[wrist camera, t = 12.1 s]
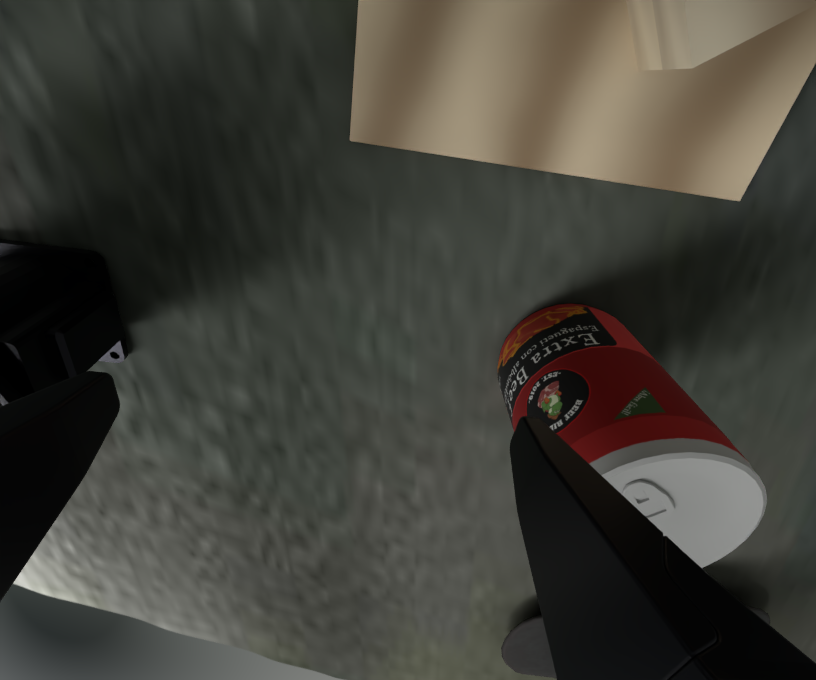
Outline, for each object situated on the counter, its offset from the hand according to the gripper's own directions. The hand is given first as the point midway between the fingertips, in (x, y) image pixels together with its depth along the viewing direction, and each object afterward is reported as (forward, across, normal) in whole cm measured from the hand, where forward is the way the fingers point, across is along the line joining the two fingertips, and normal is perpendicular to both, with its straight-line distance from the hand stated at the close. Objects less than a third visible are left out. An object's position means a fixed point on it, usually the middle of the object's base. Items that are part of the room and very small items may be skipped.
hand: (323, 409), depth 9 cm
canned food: (+13, -12, +6) cm, 19 cm away
